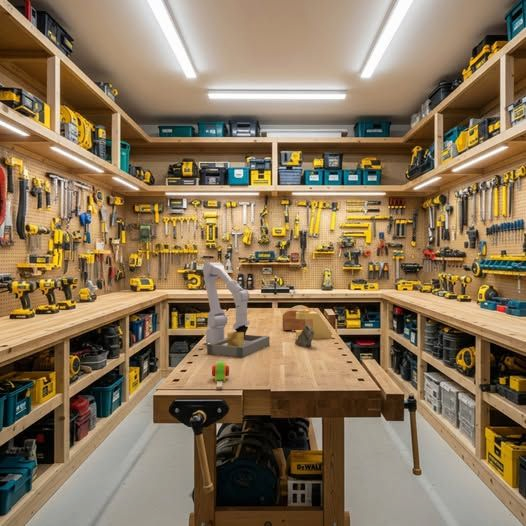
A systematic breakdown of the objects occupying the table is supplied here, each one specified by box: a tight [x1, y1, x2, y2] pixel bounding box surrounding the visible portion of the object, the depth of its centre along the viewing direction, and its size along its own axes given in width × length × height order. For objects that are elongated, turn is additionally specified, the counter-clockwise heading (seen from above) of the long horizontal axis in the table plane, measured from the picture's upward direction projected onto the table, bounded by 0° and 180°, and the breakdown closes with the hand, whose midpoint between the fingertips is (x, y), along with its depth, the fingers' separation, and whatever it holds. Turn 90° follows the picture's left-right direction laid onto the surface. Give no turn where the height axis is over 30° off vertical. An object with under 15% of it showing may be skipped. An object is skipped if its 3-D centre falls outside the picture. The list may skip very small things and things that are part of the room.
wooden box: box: [282, 304, 312, 331], centre depth 268 cm, size 30×16×14 cm, turn 166°
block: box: [226, 330, 244, 346], centre depth 197 cm, size 6×6×6 cm
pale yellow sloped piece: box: [295, 309, 333, 339], centre depth 234 cm, size 20×9×16 cm, turn 94°
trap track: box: [206, 334, 270, 358], centre depth 201 cm, size 19×31×4 cm, turn 155°
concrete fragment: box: [294, 325, 314, 348], centre depth 210 cm, size 6×19×11 cm, turn 29°
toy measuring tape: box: [211, 360, 230, 391], centre depth 146 cm, size 6×19×7 cm, turn 3°
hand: (241, 340), depth 203 cm, fingers closed
